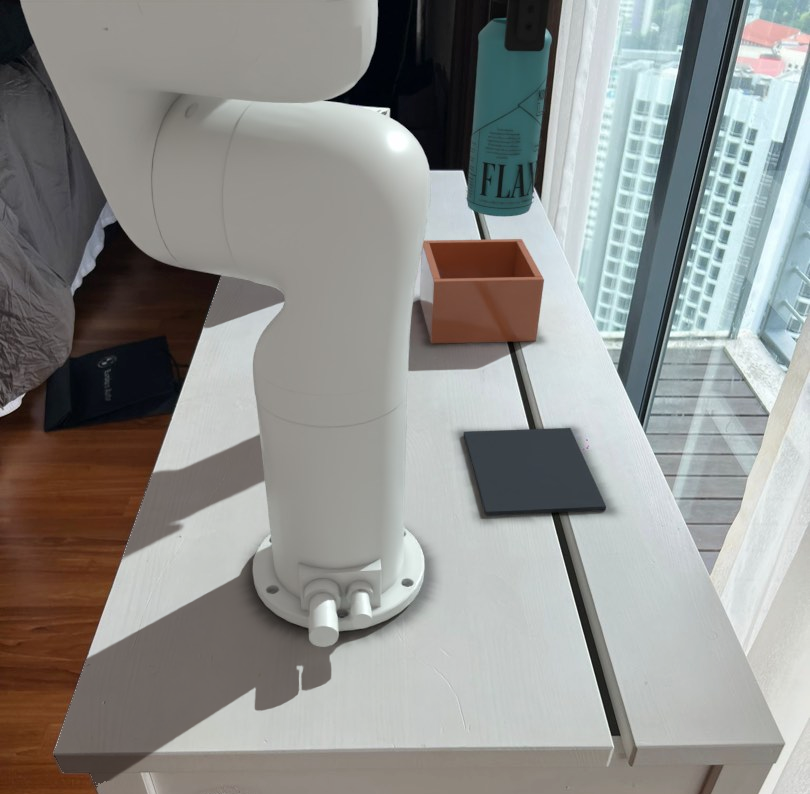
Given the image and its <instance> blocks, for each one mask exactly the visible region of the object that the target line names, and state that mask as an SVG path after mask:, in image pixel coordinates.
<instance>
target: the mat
mask: <svg viewBox="0 0 810 794" xmlns="http://www.w3.org/2000/svg"><path fill="white" fill-rule="evenodd" d="M463 438H464V442H465V446H466V449H467V453H468V457H469V460H470V464H471V467H472V471H473V475H474V479H475V483H476V486H477V490H478V494H479V497H480V500H481V505H482V509H483V512H484V516H505V515H507V516H508V515H527V514H529V515H530V514H549V513H551V514H552V513H554V514H555V513H572V512H574V513H575V512H596V511H598V512H599V511H606V510H607V505H606V503H605V501H604V498H603V497H602V493H601V492H600V489H599V488H598V485H597V483H596V481H595V479H594V477H593V474H592V473H591V470H590V468H589V466H588V463H587V461H586V459H585V457H584V455H583V452H582V450H581V449H580V446H579V444H578V442H577V439H576V437H575V434H574V433H573V430H572V428H571V427H559V428H557V427H555V428H527V429H503V430H502V429H500V430H499V429H498V430H497V429H495V430H473V431H470V430H469V431H463Z"/></svg>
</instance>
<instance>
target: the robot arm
mask: <svg viewBox="0 0 810 794" xmlns="http://www.w3.org/2000/svg"><path fill="white" fill-rule="evenodd" d="M19 1H20V5H21V6H20V7H21V9H22V12H23V15H24V19H25V22H26V24H27V27H28V30H29V33H30V35H31V38H32V40H33V42H34V45H35V47H36V50H37V52H38V54H39V56H40V59H41V61H42V63H43V65H44V68H45V70H46V72H47V74H48V77H49V79H50V80H51V83H52V86H53V88H54V89H55V91H56V94H57V96H58V98H59V100H60V102H61V104H62V107H63V109H64V112H65V113H66V116H67V118H68V120H69V123H70V124H71V127H72V128H73V130H74V133H75V135H76V136H77V139H78V141H79V143H80V146H81V147H82V150H83V153H84V154H85V157H86V159H87V160H88V163H89V165H90V167H91V170H92V172H93V174H94V176H95V178H96V180H97V182H98V185H99V187H100V188H101V190H102V192H103V195H104V197H105V199H106V201H107V203H108V205H109V207H110V209H111V211H112V213H113V215H114V217H115V219H116V220H117V222H118V224H119V225H120V227H121V228H122V230H123V231H124V232H125V234H126V236H128V238H129V240H130V241H132V243H133V244H134V245H135V246H136V247H137V248H138V249H139V250H141V251H142V252H143V253H144V254H146V256H149V257H150V258H152V259H154V260H156V261H158V262H160V263H163V264H167V265H169V266H173V267H177V268H180V269H185V270H191V271H195V272H201V273H206V274H207V273H208V274H211V275H212V274H213V275H217V276H224V277H228V278H234V279H239V280H245V281H249V282H252V283H254V284H259V285H264V286H267V287H271V288H274V289H277V290H278V291H279V292H281V293H282V295H283V299H284V302H283V305H282V307H281V309H280V310H279V312H278V313H277V314H276V315H275V316H274V317H273V318H272V319H271V321H270V322H268V324H267V325H266V327H265V328H264V330H263V331H262V332H261V334H260V336H259V338H258V340H257V342H256V345H255V349H254V353H253V357H252V380H253V387H254V395H255V402H256V410H257V421H258V422H257V423H258V430H259V431H258V432H259V438H260V439H259V440H260V448H261V457H262V466H263V467H262V468H263V477H264V485H265V494H266V503H267V505H266V506H267V513H268V522H269V523H268V524H269V531H270V533H269V534H268V535H266V536H265V537H264V539H262V540H261V541H262V542H261V543H260V545H259V546H258V547H257V549H256V551H255V554H254V557H253V560H252V579H253V585H254V587H255V590H256V593H257V595H258V597H259V598H260V600H261V601H262V603H263V604H264V605H265V606H266V607H267V608H268V609H269V610H270V611H271V612H272V613H274V614H275V615H276V616H278V617H280V618H282V620H285V621H287V622H289V623H291V624H294V625H296V626H300V627H303V628H306V629H308V640H309V641H308V642H310V643H311V644H312V645H313V646H316V647H318V648H327V647H329V646H330V647H331V646H333V645H334V644H335V643H337V642H338V640H339V637H340V635H339V634H340V633H339V632H344V631H345V632H347V631H356V630H360V629H361V630H362V629H367V628H369V627H373V626H376V625H379V624H381V623H383V622H386V621H388V620H389V619H392V618H393V617H395V616H397V615H398V614H400V613H402V611H403V610H405V609H406V608H407V607H408V606H410V605H411V604H412V603H413V601H414V600H415V599H416V597H417V595H418V594H419V593H420V592H421V591H420V590H421V588H422V586H423V584H424V577H425V569H426V568H425V556H424V553H423V550H422V549H423V548H422V546H421V545H420V543H419V542H418V540H417V538H416V537H415V536H414V535H413V534H412V533H411V532H410V530H408V529H407V528H406V527H405V513H406V511H405V509H406V507H405V505H406V502H405V501H406V469H407V467H406V466H407V464H406V463H407V428H408V427H407V425H408V423H407V422H408V390H409V358H410V357H409V356H410V339H411V337H410V335H411V325H412V313H413V305H414V297H415V291H416V283H417V277H418V272H419V267H420V263H421V252H422V247H423V242H424V241H425V236H426V231H427V226H428V220H429V214H430V206H431V198H432V177H431V171H430V165H429V162H428V158H427V156H426V154H425V151H424V149H423V147H422V145H421V144H420V142H419V141H418V139H417V138H416V137H415V136H414V134H413V133H412V132H411V131H410V130H408V129H407V128H406V127H405V126H404V125H403V124H401V123H400V122H399V121H397V120H395V119H393V118H391V116H390V117H388V116H385V115H383V114H381V113H378V112H375V111H372V110H369V109H366V108H363V107H359V106H360V105H358V106H354V105H355V104H349V103H344V102H337V101H328V100H332V99H334V98H337V97H338V96H341V95H343V94H345V93H347V92H348V91H350V90H351V89H352V88H353V87H355V85H356V84H357V83H358V81H359V80H361V78H362V77H363V76H364V75H365V73H366V72H367V70H368V68H369V66H370V63H371V60H372V57H373V55H374V52H375V49H376V43H377V35H378V34H377V33H378V20H379V19H378V17H379V7H378V3H379V0H19ZM549 7H550V0H508V4H504V3H498V2H495V1H493V0H489V8H488V20H487V21H488V22H487V24H488V23H489V22H490V21H492V20H493V19H497V18H506V29H505V41H504V47H505V49H506V50H508V51H541V50H543V48H544V43H545V34H546V29H547V24H548V14H549Z"/></svg>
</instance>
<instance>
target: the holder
mask: <svg viewBox="0 0 810 794" xmlns="http://www.w3.org/2000/svg"><path fill="white" fill-rule="evenodd" d="M419 275H420V279H419V280H420V281H419V301H420V304H421V310H422V313H423V318H424V322H425V325H426V328H427V333H428V337H429V340H430V343H431V344H434V345H435V344H437V345H438V344H467V343H468V344H471V343H505V342H506V343H507V342H536V341H537V337H538V330H539V323H540V314H541V308H542V307H541V306H542V299H543V291H544V285H545V284H544V283H545V279H544V277H543V275H542V273H541V271H540V269H539V268H538V266H537V264H536V262H535V260H534V258H533V256H532V255H531V253H530V252H529V250H528V248H527V245H526V244H525V242H524V240H523V239H522V238H503V239H501V238H500V239H438V240H437V239H435V240H433V239H432V240H428V239H427V240H424V242H423V247H422V252H421V257H420V274H419Z"/></svg>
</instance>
